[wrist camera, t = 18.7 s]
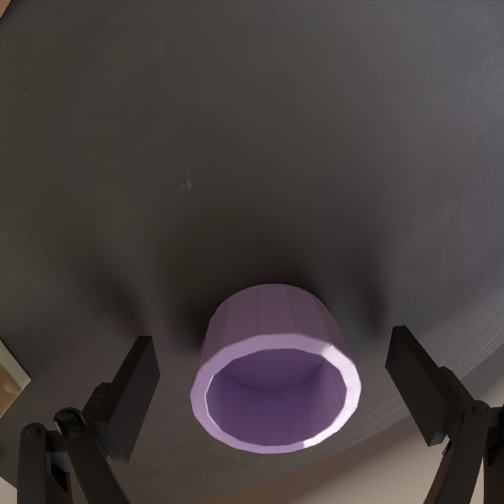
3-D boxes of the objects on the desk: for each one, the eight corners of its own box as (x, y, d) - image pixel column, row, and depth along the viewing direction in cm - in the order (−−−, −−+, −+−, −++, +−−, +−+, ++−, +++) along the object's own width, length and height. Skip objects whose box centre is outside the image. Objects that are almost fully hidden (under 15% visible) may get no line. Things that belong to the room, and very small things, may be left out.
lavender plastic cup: (341, 280, 16) (372, 327, 11) (330, 388, 18) (347, 446, 14) (198, 285, 16) (178, 335, 12) (211, 393, 18) (202, 453, 14)
